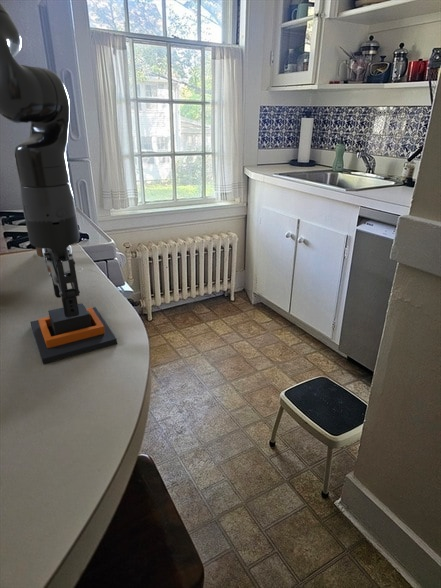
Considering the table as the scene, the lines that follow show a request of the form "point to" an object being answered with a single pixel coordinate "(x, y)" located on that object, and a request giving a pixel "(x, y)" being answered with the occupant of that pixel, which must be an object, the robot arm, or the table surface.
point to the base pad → (71, 338)
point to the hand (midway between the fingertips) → (66, 305)
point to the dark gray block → (69, 320)
